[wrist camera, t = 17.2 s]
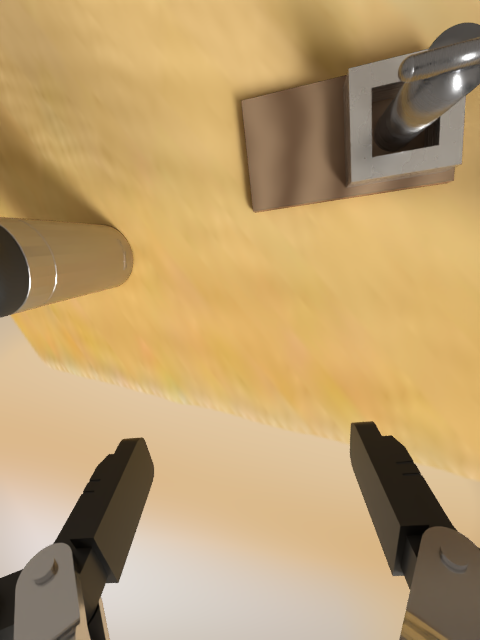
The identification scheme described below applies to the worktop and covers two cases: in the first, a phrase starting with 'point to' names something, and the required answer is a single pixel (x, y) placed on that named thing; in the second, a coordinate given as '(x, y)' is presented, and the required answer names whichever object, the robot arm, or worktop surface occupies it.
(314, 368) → the worktop surface
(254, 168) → the stand
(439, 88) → the chuck key
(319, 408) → the worktop surface
